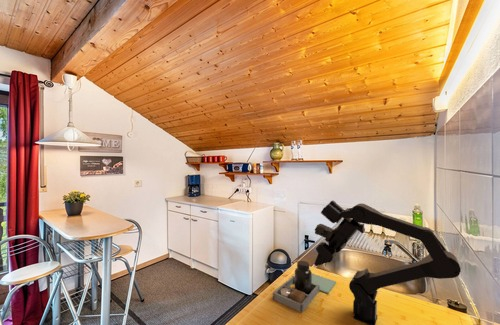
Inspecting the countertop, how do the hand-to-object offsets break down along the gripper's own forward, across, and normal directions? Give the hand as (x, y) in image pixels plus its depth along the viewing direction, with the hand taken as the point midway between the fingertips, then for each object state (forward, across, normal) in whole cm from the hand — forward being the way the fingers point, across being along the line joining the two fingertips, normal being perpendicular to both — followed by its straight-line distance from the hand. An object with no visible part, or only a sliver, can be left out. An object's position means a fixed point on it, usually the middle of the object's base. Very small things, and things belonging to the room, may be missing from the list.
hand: (319, 260), depth 86 cm
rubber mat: (+14, -11, +5) cm, 19 cm away
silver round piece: (+18, +8, 0) cm, 20 cm away
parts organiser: (+16, +3, +2) cm, 17 cm away
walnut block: (+15, +8, +4) cm, 18 cm away
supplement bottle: (+16, 0, +3) cm, 16 cm away
